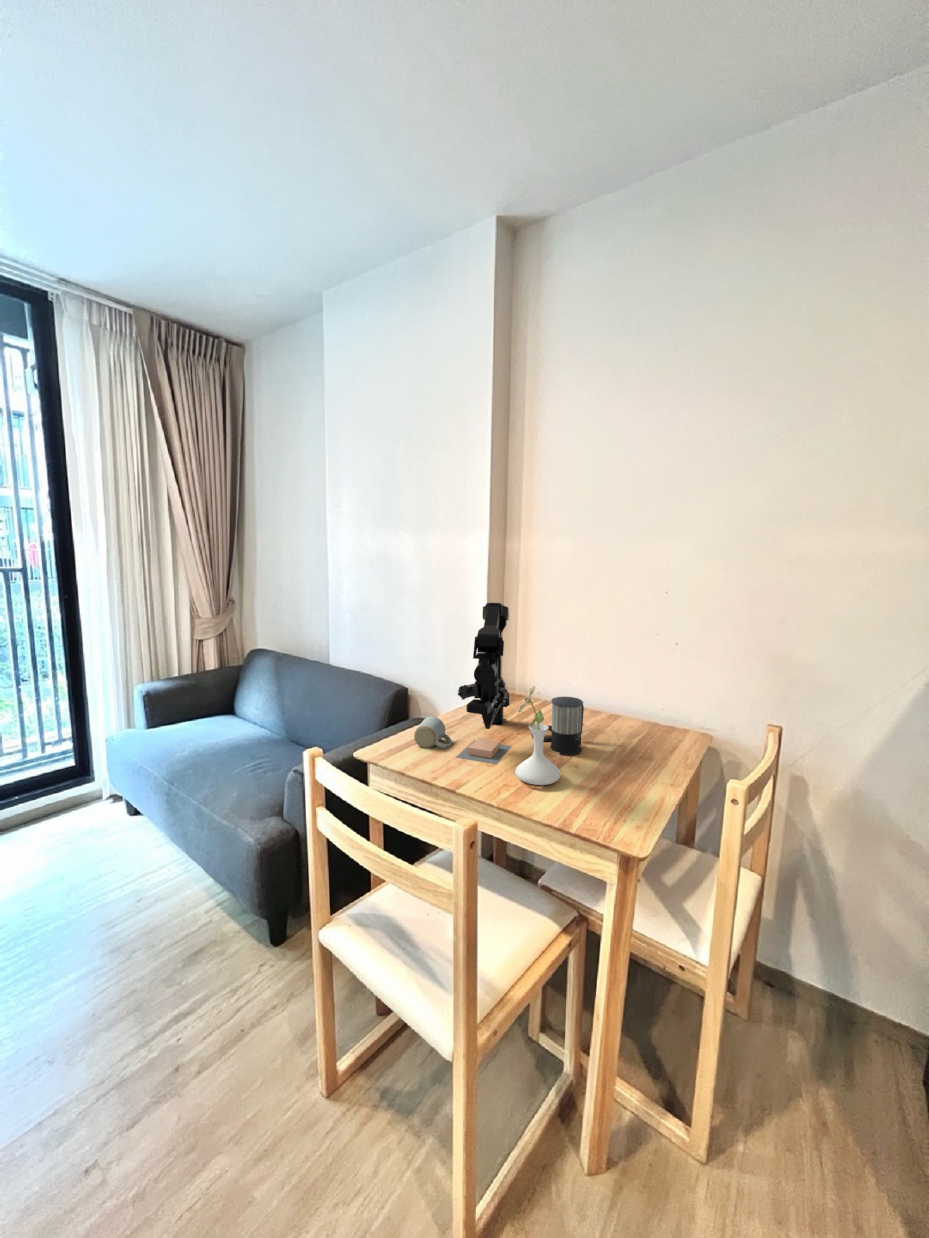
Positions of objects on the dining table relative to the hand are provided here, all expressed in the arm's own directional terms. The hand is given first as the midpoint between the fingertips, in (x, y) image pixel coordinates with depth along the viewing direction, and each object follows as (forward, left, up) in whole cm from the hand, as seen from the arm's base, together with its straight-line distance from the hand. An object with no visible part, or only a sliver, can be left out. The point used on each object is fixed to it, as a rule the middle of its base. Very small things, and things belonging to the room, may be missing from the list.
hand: (487, 728), depth 143 cm
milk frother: (-11, +18, -7) cm, 22 cm away
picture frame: (-1, 0, -5) cm, 5 cm away
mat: (+3, 0, -6) cm, 7 cm away
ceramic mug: (+2, -16, -7) cm, 18 cm away
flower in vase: (+14, +18, -7) cm, 23 cm away
